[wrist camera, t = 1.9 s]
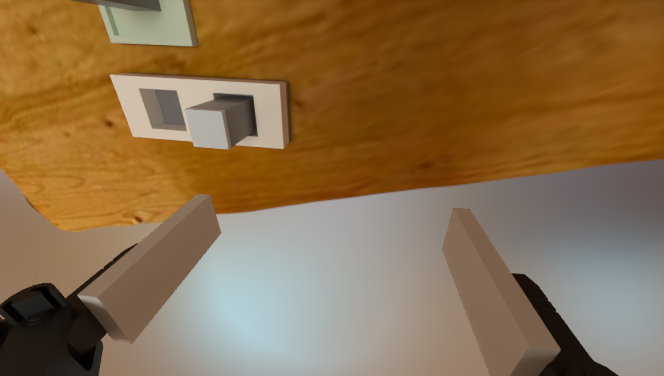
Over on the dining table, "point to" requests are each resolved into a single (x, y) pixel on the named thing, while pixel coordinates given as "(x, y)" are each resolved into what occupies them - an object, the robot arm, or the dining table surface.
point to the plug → (127, 4)
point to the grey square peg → (221, 121)
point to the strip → (186, 91)
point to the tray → (152, 24)
